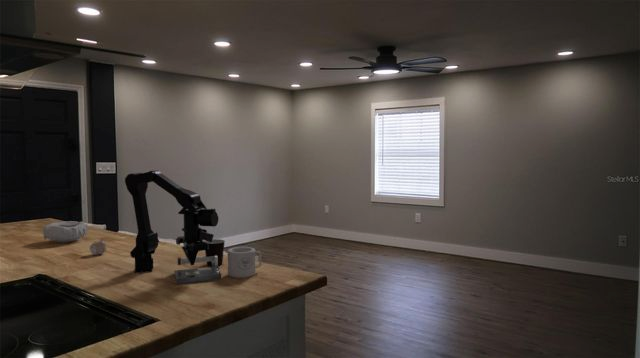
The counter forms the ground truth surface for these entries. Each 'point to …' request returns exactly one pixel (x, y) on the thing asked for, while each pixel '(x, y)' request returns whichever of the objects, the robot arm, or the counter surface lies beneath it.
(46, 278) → the counter surface
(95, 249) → the garlic bulb
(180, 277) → the chassis
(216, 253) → the coffee mug
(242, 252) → the mug
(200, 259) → the cable arm
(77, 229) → the bowl
